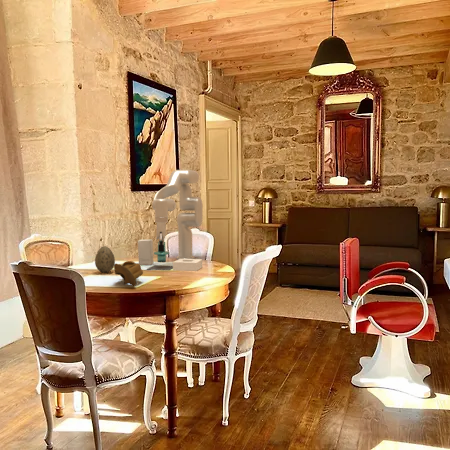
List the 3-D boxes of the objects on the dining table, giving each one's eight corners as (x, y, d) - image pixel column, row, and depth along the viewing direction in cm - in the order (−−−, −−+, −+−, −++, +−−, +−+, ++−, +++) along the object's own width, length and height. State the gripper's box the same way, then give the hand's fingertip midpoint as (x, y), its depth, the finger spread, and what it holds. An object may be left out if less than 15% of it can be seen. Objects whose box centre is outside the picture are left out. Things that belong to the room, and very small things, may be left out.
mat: (154, 266, 265) (154, 265, 264) (176, 266, 262) (176, 265, 262) (146, 270, 251) (146, 269, 251) (169, 270, 248) (169, 269, 248)
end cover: (157, 260, 261) (156, 241, 260) (171, 260, 260) (171, 241, 259) (151, 262, 252) (151, 242, 252) (166, 263, 251) (166, 243, 250)
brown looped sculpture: (95, 271, 204) (117, 257, 225) (105, 296, 206) (126, 280, 226) (128, 261, 198) (147, 248, 219) (138, 287, 200) (157, 271, 221)
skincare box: (153, 263, 275) (153, 239, 274) (151, 265, 268) (150, 240, 267) (141, 263, 276) (140, 239, 274) (137, 265, 269) (137, 240, 268)
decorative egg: (104, 270, 250) (104, 244, 249) (119, 271, 245) (118, 245, 244) (91, 273, 240) (90, 246, 239) (105, 275, 235) (105, 247, 234)
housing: (179, 266, 262) (179, 258, 261) (202, 267, 259) (202, 259, 259) (173, 270, 248) (172, 262, 248) (196, 271, 245) (196, 262, 245)
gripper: (156, 219, 263) (156, 249, 264) (153, 220, 246) (154, 252, 247) (168, 219, 263) (168, 249, 264) (167, 220, 246) (167, 252, 247)
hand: (161, 250), depth 256 cm, fingers closed on end cover, 4 cm apart
